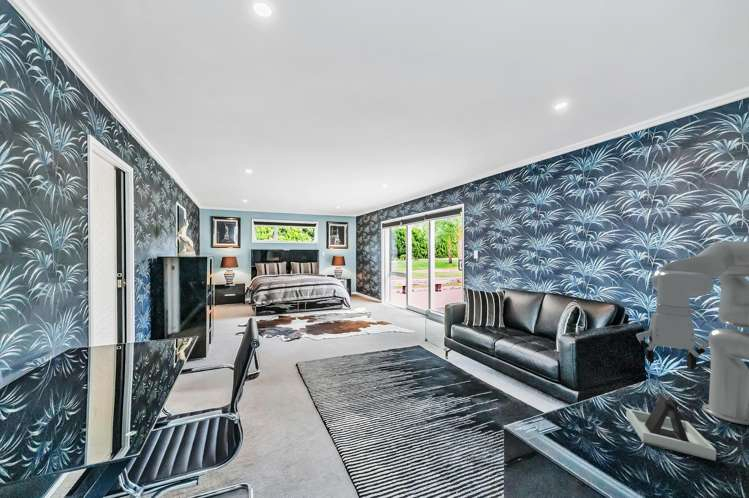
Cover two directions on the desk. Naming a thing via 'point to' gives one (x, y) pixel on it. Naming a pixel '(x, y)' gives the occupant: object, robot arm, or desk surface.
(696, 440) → the tray
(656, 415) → the phone stand
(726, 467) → the desk surface
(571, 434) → the desk surface
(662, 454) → the desk surface
